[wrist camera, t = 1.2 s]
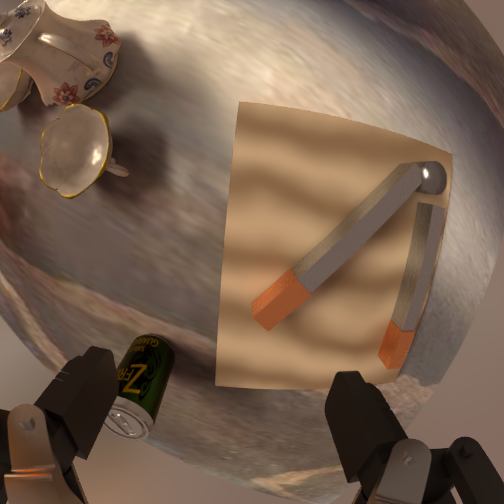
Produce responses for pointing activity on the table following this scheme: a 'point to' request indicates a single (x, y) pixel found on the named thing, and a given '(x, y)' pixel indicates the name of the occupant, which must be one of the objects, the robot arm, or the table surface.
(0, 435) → the robot arm
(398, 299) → the tong fixed arm
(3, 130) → the table surface
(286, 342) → the cutting board
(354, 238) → the tong free arm
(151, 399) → the beer can
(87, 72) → the chinaware
